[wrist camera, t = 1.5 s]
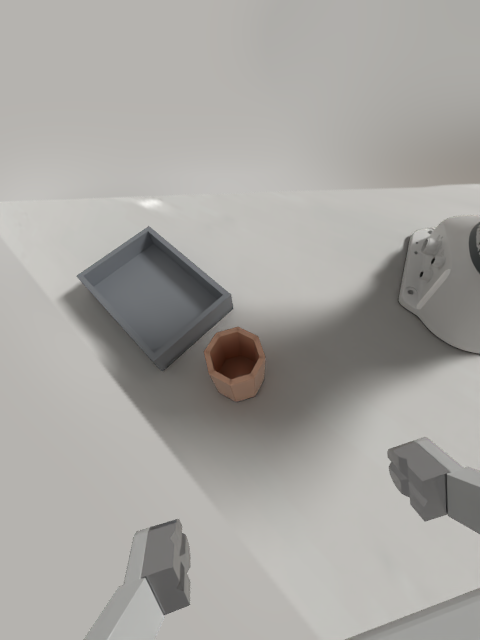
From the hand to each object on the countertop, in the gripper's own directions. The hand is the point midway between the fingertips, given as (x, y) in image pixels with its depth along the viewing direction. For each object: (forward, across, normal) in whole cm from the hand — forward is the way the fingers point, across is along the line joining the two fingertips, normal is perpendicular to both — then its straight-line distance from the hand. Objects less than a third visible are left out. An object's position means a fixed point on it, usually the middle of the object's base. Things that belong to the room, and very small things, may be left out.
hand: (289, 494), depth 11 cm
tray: (+38, +9, -2) cm, 39 cm away
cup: (+27, 0, +9) cm, 29 cm away
